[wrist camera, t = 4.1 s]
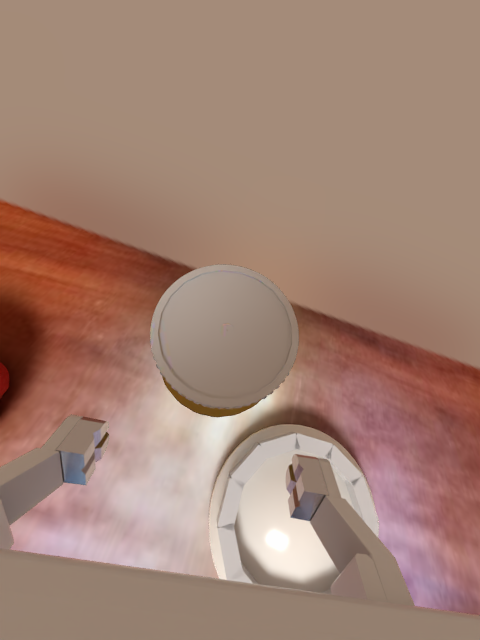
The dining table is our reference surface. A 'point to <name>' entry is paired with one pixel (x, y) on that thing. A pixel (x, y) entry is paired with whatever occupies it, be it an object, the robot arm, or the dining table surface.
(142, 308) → the dining table surface
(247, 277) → the bottle
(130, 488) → the dining table surface
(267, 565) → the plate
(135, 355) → the dining table surface
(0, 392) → the pomegranate
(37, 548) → the dining table surface
